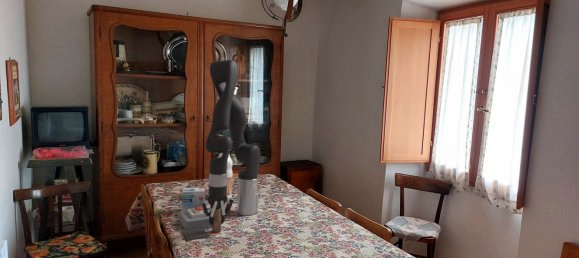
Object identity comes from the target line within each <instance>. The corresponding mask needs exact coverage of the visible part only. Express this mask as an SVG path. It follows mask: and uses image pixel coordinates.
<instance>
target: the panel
mask: <svg viewBox="0 0 579 258" xmlns="http://www.w3.org/2000/svg"><path fill="white" fill-rule="evenodd" d="M207 210H208V212H209V211H210V207H207ZM178 221H179V222H180V224H181V225H182V227H183V228H184V229H185V231H186V230H193V229H200V228H203V229H204V230H205V229H212V225H211V224H210V223H209V216H206V215H205V213H204V211H203V213H198V214H195V208H194V209H187V210H186V211H181V210H180V211H179V210H178Z"/></svg>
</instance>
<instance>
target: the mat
mask: <svg viewBox="0 0 579 258" xmlns="http://www.w3.org/2000/svg"><path fill="white" fill-rule="evenodd" d="M180 233H181V235H183V237H184V239H185V241H192V240H193V241H194V240H198V239H205V238H210V235H209V234H208V232H207V231H206V230H205V228H204V229H203V228H200V229H193V230H186V229H185V230H182V231H181V232H180Z"/></svg>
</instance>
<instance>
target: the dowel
mask: <svg viewBox="0 0 579 258" xmlns="http://www.w3.org/2000/svg"><path fill="white" fill-rule="evenodd" d="M221 212H222V211H221V208H216V209H215V212H214V215H213V217H214V225H212V227H211V232H212V233H214V234H219V233H221V232H222V224H221Z"/></svg>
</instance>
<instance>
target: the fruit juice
mask: <svg viewBox="0 0 579 258" xmlns="http://www.w3.org/2000/svg"><path fill="white" fill-rule="evenodd" d="M222 155H223V153H218V157H217V158H219V157H222ZM233 164H234V162H233V159H232V157H231V155H230V153H229V157H228V161H227V198H231V199H232V197H233V169H232V168H233Z"/></svg>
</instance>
